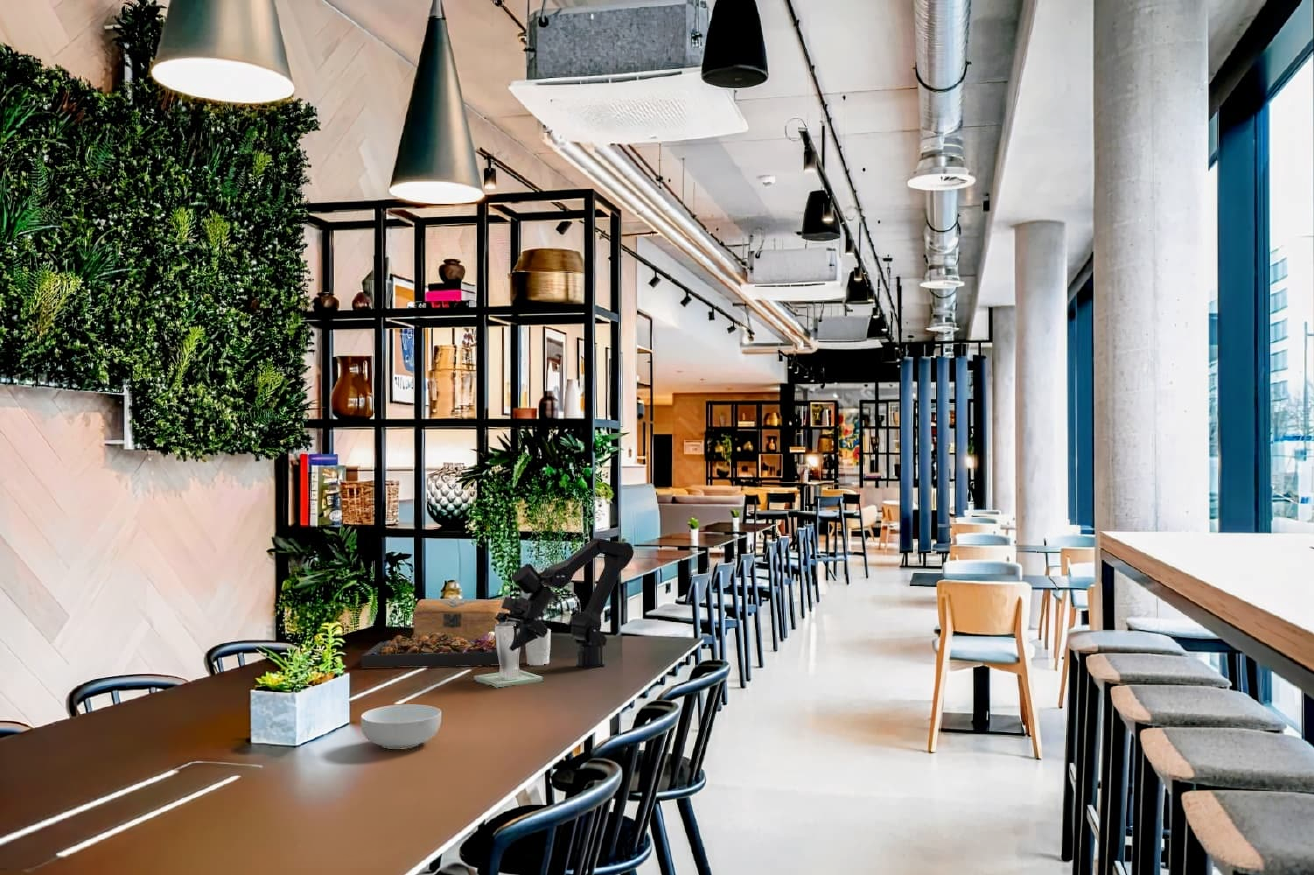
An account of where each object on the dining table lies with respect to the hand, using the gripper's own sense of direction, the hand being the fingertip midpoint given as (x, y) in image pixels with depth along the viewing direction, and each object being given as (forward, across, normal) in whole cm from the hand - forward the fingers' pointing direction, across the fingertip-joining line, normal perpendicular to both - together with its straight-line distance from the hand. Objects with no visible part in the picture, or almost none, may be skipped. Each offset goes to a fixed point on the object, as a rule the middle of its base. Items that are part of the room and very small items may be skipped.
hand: (503, 648), depth 297 cm
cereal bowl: (+44, +41, -31) cm, 68 cm away
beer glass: (+5, 0, +7) cm, 9 cm away
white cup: (-9, -15, +22) cm, 28 cm away
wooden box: (-14, -72, +28) cm, 78 cm away
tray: (+6, 0, +7) cm, 9 cm away
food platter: (+3, -42, +11) cm, 44 cm away
